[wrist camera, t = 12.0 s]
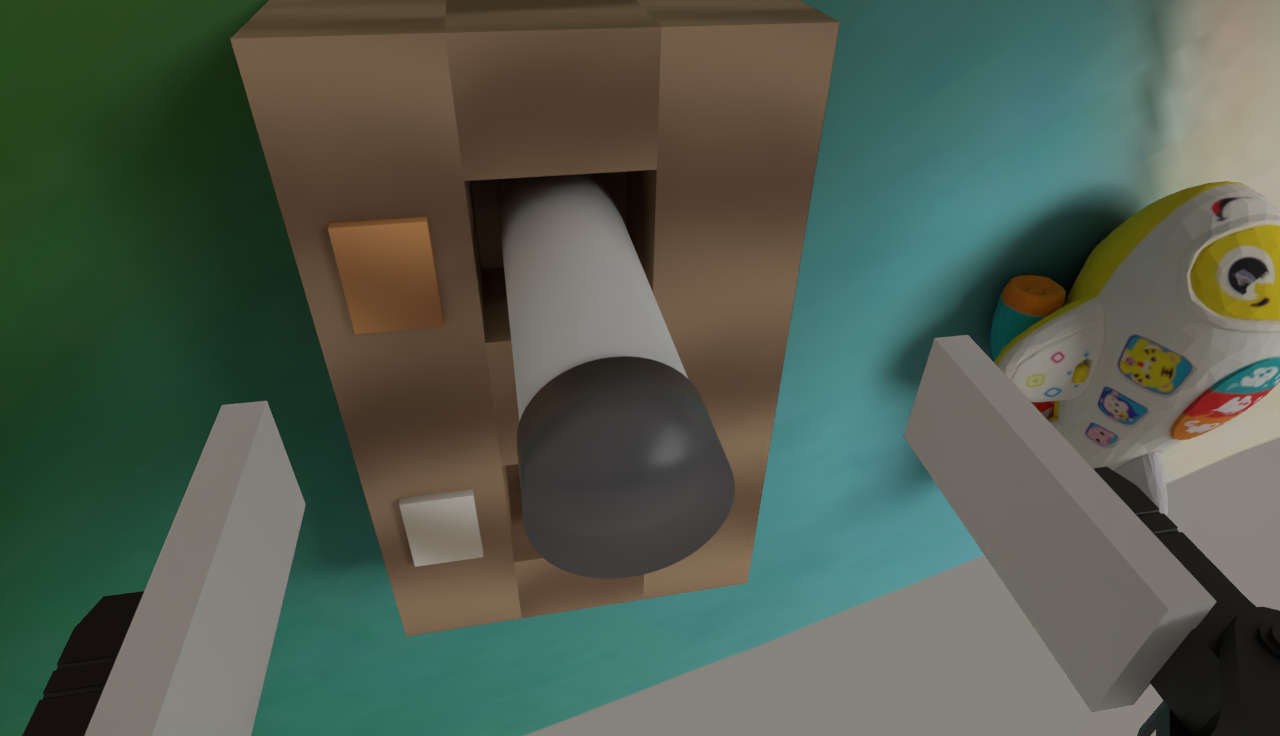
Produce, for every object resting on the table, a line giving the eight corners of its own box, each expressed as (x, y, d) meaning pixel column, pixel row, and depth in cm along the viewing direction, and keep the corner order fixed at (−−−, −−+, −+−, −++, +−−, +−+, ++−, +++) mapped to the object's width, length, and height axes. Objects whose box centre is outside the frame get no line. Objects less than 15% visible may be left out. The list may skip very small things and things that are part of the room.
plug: (487, 139, 23) (514, 441, 12) (609, 133, 23) (744, 413, 12) (499, 251, 25) (532, 592, 14) (610, 242, 26) (725, 562, 15)
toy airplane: (1004, 578, 31) (1194, 279, 22) (906, 432, 38) (1019, 153, 28) (1261, 536, 34) (1534, 252, 24) (1128, 406, 40) (1301, 141, 31)
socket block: (282, -13, 21) (226, 42, 16) (761, -21, 23) (844, 25, 18) (413, 521, 34) (405, 643, 29) (709, 482, 36) (749, 588, 31)
